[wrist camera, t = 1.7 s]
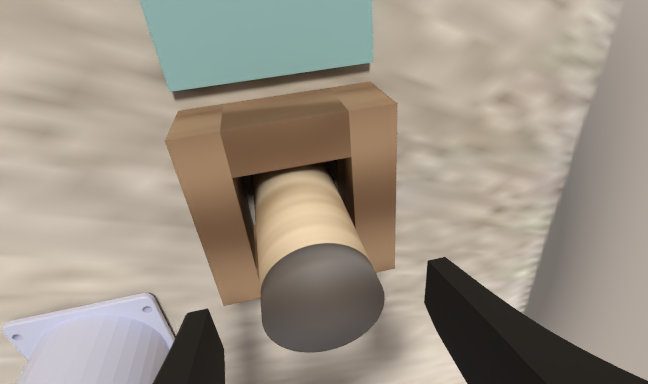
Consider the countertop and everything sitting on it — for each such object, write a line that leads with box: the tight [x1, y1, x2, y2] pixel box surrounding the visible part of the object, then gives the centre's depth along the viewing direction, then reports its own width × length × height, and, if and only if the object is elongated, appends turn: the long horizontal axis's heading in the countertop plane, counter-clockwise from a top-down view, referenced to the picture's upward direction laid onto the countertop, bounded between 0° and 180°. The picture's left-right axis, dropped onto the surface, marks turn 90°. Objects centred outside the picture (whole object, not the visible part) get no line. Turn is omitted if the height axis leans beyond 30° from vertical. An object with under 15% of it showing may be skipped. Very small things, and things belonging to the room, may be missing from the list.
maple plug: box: [253, 162, 385, 352], centre depth 15 cm, size 4×4×9 cm
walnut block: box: [165, 82, 397, 306], centre depth 18 cm, size 9×9×4 cm
